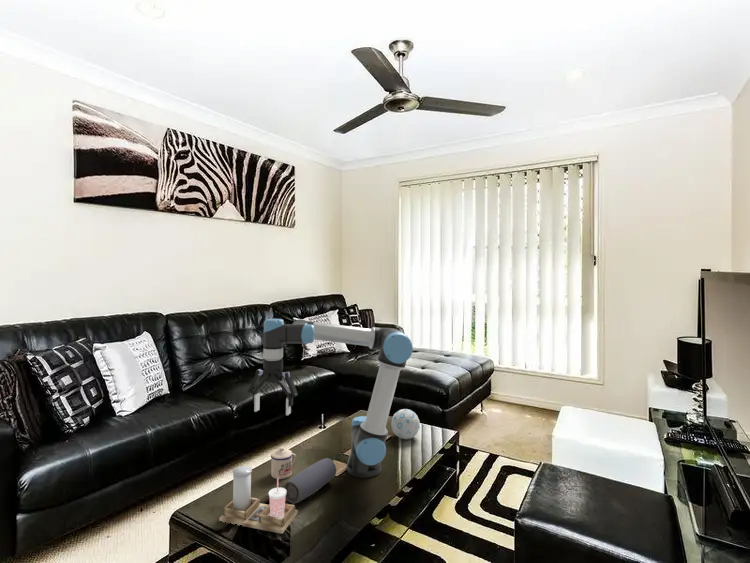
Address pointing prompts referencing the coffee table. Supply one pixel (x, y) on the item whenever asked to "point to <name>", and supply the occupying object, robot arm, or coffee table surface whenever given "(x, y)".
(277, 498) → the beverage cup
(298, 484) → the bluetooth speaker
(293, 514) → the rack
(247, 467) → the grey tube
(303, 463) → the coffee table surface
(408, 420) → the puzzle ball
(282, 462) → the teacup with lid
